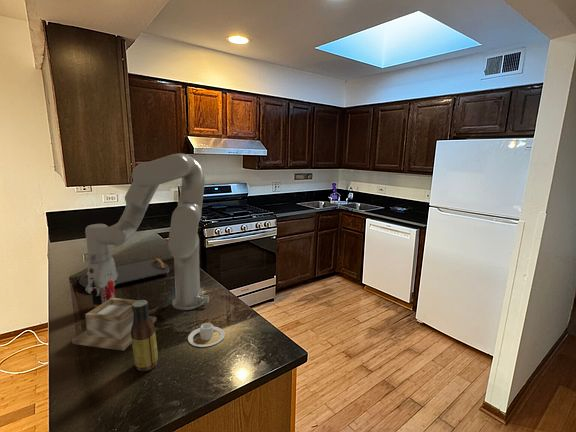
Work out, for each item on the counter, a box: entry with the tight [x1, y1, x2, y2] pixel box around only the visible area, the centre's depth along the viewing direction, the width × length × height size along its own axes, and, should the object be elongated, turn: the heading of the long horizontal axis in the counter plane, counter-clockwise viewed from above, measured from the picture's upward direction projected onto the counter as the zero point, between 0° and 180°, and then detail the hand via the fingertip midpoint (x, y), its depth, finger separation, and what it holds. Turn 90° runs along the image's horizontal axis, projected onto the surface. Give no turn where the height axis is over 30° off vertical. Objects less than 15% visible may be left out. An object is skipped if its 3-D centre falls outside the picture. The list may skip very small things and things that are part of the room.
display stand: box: [71, 297, 157, 351], centre depth 107 cm, size 18×18×9 cm
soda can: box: [94, 279, 116, 308], centre depth 122 cm, size 7×7×12 cm
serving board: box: [79, 258, 170, 289], centre depth 153 cm, size 39×23×6 cm, turn 131°
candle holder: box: [187, 322, 226, 348], centre depth 105 cm, size 12×12×4 cm
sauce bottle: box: [131, 299, 159, 372], centre depth 89 cm, size 6×6×20 cm
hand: (104, 299), depth 123 cm, fingers closed on soda can, 6 cm apart
